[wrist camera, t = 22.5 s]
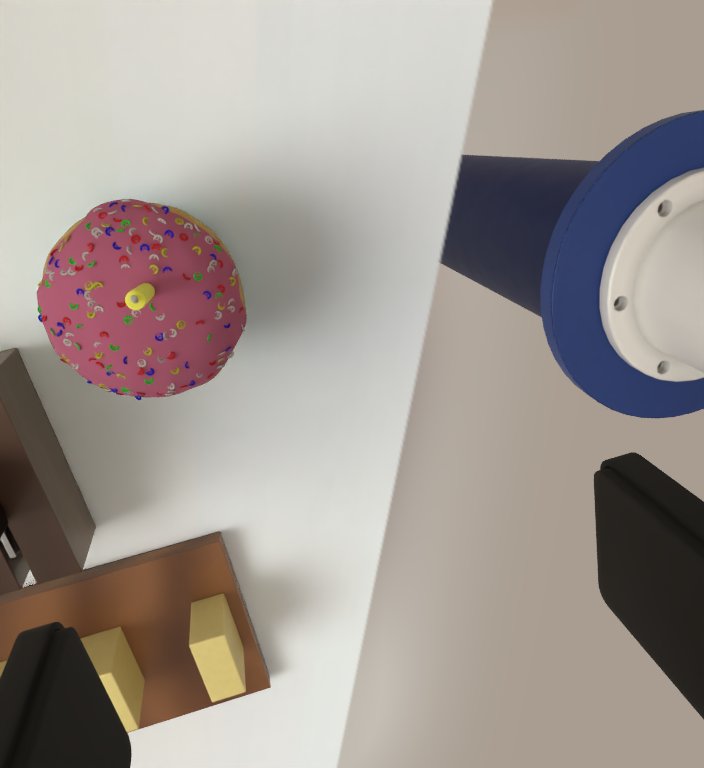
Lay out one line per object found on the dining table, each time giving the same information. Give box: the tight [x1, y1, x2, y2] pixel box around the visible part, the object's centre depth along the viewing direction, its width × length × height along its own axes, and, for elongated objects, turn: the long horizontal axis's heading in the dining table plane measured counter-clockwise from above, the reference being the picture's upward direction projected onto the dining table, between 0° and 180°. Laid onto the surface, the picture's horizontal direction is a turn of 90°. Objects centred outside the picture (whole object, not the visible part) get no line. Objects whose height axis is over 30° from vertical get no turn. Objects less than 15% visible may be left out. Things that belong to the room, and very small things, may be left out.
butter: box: [0, 627, 145, 732], centre depth 35 cm, size 7×4×4 cm, turn 101°
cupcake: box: [37, 199, 246, 400], centre depth 25 cm, size 9×8×12 cm
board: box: [0, 532, 270, 733], centre depth 37 cm, size 18×12×1 cm, turn 101°
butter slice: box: [189, 593, 246, 702], centre depth 36 cm, size 2×4×4 cm, turn 11°
